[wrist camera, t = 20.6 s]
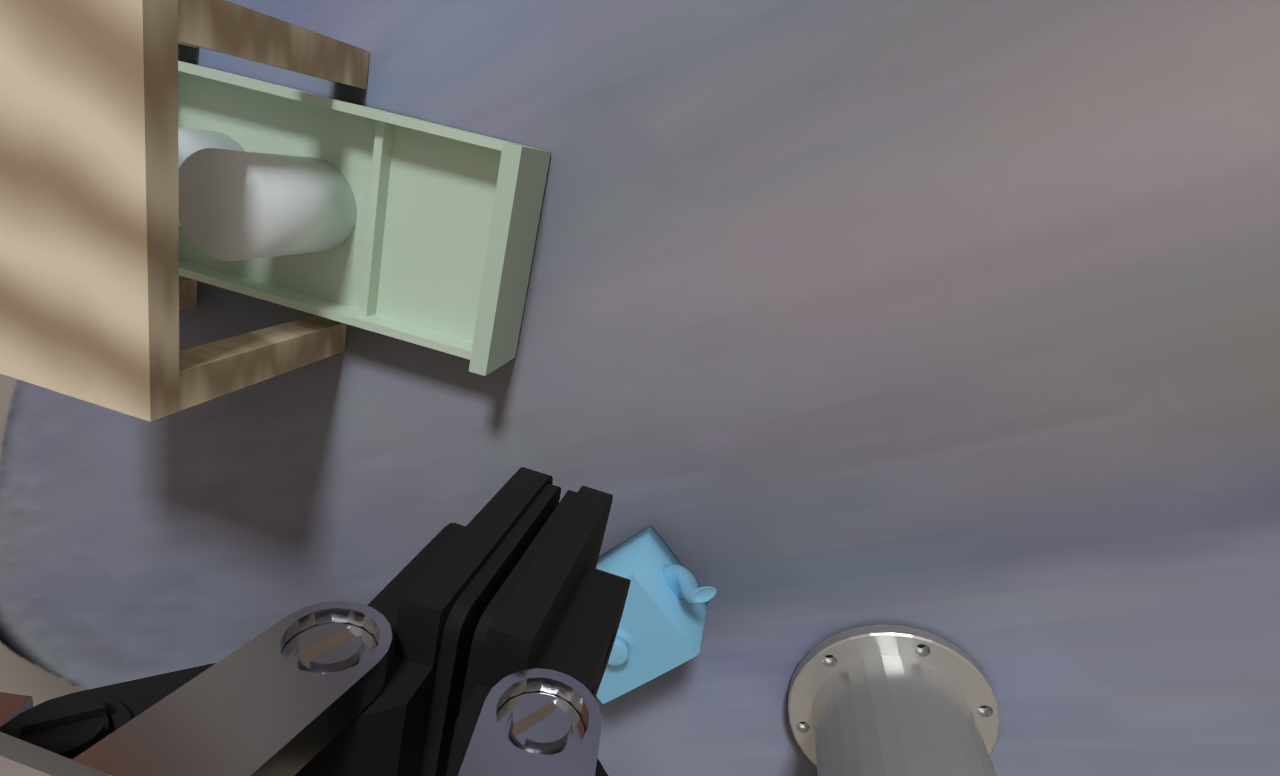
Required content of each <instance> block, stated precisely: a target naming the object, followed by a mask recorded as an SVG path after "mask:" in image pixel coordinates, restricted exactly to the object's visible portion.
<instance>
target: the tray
mask: <svg viewBox="0 0 1280 776" xmlns="http://www.w3.org/2000/svg"><path fill="white" fill-rule="evenodd" d="M178 127H182V128H190V129H199V130H208V131H215V132H220V133H223V134H225V135H227V136H229V137H231V138H232V139H234V140H235V141H236V142H237V143H238V144H239V145H240V146H241V147H242V148H243V149H244V151H249V152H260V153H270V154H281V155H291V156H302V157H312V158H318V159H322V160H324V161H327V162H328V163H330V164H332V165H333V166H334V167H336V168H337V169H338V170H339V171H340V172H341V173H342V174H343V175H344V177H345V178H346V180H347V181H348V183H349V185H350V187H351V189H352V191H353V194H354V198H355V202H356V220H355V225H354V228H353V231H352V233H351V235H350V236H349V237H348V239H347V240H346V241H345V242H344V243H343V244H342V245H340V246H339V247H337V248H335V249H332V250H328V251H321V252H312V253H303V254H294V255H284V256H275V257H266V258H257V259H248V260H239V261H225V260H220V259H217V258H214V257H212V256H210V255H208V254H207V253H205V252H204V251H202V250H201V249H200V248H198V247H197V246H196V245H195V244H194V243H193V241H192V240H191V239H190V238H189V237H188V235H187V234H186V232H185V231H184V229H183V227H182V226H179V276H183V277H186V278H190V279H193V280H197V281H200V282H204V283H207V284H210V285H214V286H217V287H221V288H224V289H228V290H231V291H235V292H238V293H241V294H245V295H248V296H252V297H255V298H259V299H262V300H266V301H269V302H272V303H276V304H279V305H283V306H286V307H290V308H293V309H297V310H300V311H304V312H307V313H310V314H314V315H317V316H321V317H324V318H328V319H331V320H335V321H338V322H341V323H345V324H348V325H352V326H355V327H359V328H362V329H366V330H369V331H372V332H376V333H379V334H383V335H386V336H390V337H393V338H397V339H400V340H403V341H407V342H410V343H414V344H417V345H421V346H424V347H428V348H431V349H434V350H438V351H441V352H445V353H448V354H452V355H455V356H459V357H462V358H465V359H469V360H470V365H469V372H473V373H476V374H479V375H483V376H486V375H488V374H490V373H491V372H493V371H494V370H496V369H498V368H499V367H501V366H502V365H504V364H506V363H507V362H509V361H510V360H512V359H514V358H515V356H516V350H517V345H518V339H519V333H520V327H521V322H522V316H523V310H524V304H525V299H526V293H527V287H528V281H529V276H530V270H531V264H532V258H533V253H534V247H535V241H536V235H537V230H538V224H539V218H540V212H541V207H542V201H543V195H544V189H545V184H546V178H547V172H548V166H549V161H550V155H551V152H549V151H545V150H541V149H537V148H533V147H529V146H525V145H521V144H516V143H512V142H508V141H504V140H500V139H496V138H492V137H488V136H484V135H480V134H476V133H472V132H468V131H464V130H460V129H455V128H451V127H447V126H443V125H439V124H435V123H431V122H427V121H423V120H419V119H415V118H411V117H407V116H403V115H399V114H395V113H390V112H386V111H382V110H378V109H374V108H370V107H366V106H362V105H358V104H354V103H350V102H346V101H342V100H338V99H334V98H329V97H325V96H321V95H317V94H313V93H309V92H305V91H301V90H297V89H293V88H289V87H285V86H281V85H277V84H273V83H269V82H264V81H260V80H256V79H252V78H248V77H244V76H240V75H236V74H232V73H228V72H224V71H220V70H216V69H212V68H208V67H203V66H199V65H195V64H191V63H187V62H183V61H179V60H178Z"/></svg>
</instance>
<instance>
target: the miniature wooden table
mask: <svg viewBox="0 0 1280 776" xmlns="http://www.w3.org/2000/svg"><path fill="white" fill-rule="evenodd" d="M178 44H181V45H185V46H189V47H193V48H197V49H199V47H202V48H206V49H209V50H213V51H217V52H221V53H225V54H229V55H233V56H237V57H240V58H244V59H248V60H252V61H256V62H260V63H264V64H268V65H271V66H275V67H279V68H283V69H287V70H291V71H295V72H298V73H302V74H306V75H310V76H314V77H318V78H322V79H326V80H329V81H333V82H337V83H341V84H345V85H350V86H354V87H358V88H362V89H366V90H367V78H368V66H369V54H370V52H369V51H366V50H363V49H361V48H358V47H355V46H352V45H349V44H347V43H344V42H341V41H338V40H335V39H332V38H330V37H327V36H324V35H321V34H318V33H316V32H313V31H310V30H307V29H304V28H302V27H299V26H296V25H293V24H290V23H287V22H285V21H282V20H279V19H276V18H273V17H271V16H268V15H265V14H262V13H259V12H257V11H254V10H251V9H248V8H245V7H242V6H240V5H237V4H234V3H231V2H228V1H226V0H0V373H1V374H4V375H7V376H10V377H13V378H16V379H19V380H22V381H25V382H29V383H32V384H35V385H38V386H41V387H44V388H47V389H50V390H53V391H56V392H60V393H63V394H66V395H69V396H72V397H75V398H78V399H81V400H84V401H87V402H91V403H94V404H97V405H100V406H103V407H106V408H109V409H112V410H115V411H119V412H122V413H125V414H128V415H131V416H134V417H137V418H140V419H143V420H146V421H150V422H151V421H154V420H157V419H160V418H162V417H165V416H168V415H171V414H173V413H176V412H179V411H182V410H184V409H187V408H190V407H193V406H195V405H198V404H201V403H204V402H206V401H209V400H212V399H215V398H217V397H220V396H223V395H226V394H228V393H231V392H234V391H237V390H240V389H242V388H245V387H248V386H251V385H253V384H256V383H259V382H262V381H264V380H267V379H270V378H273V377H275V376H278V375H281V374H284V373H286V372H289V371H292V370H295V369H297V368H300V367H303V366H306V365H308V364H311V363H314V362H317V361H319V360H322V359H325V358H328V357H330V356H333V355H336V354H339V353H341V352H344V351H345V341H346V329H347V324H345V323H341V322H338V321H335V320H331V319H328V318H324V317H321V316H317V315H313V316H310V317H306V318H302V319H298V320H294V321H290V322H287V323H283V324H279V325H275V326H271V327H268V328H264V329H260V330H256V331H252V332H248V333H245V334H241V335H237V336H233V337H229V338H225V339H222V340H218V341H214V342H210V343H206V344H202V345H199V346H195V347H191V348H187V349H183V350H179V311H183V310H188V309H193V308H197V280H193V279H190V278H186V277H183V276H179V179H178Z"/></svg>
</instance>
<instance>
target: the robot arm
mask: <svg viewBox="0 0 1280 776" xmlns="http://www.w3.org/2000/svg"><path fill="white" fill-rule="evenodd" d="M552 481H553V478H552V476H550V475H546V474H543V473H540V472H537V471H533V470H530V469H527V468H524V467H521V468H520V469H519V470H518V471H517V472H516V473H515V474H514V475H513V476H512V478H511V479H510V480H509V481H508V482H507V483H506V484H505V485H504V486H503V487H502V488H501V489H500V490H499V492H498V493H497V494H496V495H495V496H494V497H493V498H492V499H491V500H490V501H489V502H488V503H487V504H486V506H485V507H484V508H483V509H482V510H481V511H480V512H479V513H478V514H477V515H476V516H475V517H474V518H473V520H472V521H471V522H470V523H469V524H468V525H467V526H462V525H459V524H456V523H450V524H448V525H447V526H446V527H444V528H443V529H442V530H441V532H440V533H439V534H438V535H437V536H436V537H435V538H434V539H433V540H432V541H431V542H430V543H429V544H428V545H427V546H426V547H425V548H424V549H423V550H422V551H421V552H420V553H419V554H418V555H417V556H416V557H415V558H414V559H413V560H412V561H411V562H410V563H409V564H408V565H407V566H406V567H405V568H404V569H403V570H402V571H401V572H400V573H399V574H398V575H397V576H396V577H395V578H394V579H393V580H392V581H391V582H390V583H389V584H388V585H387V586H386V587H385V588H384V589H383V590H382V591H381V592H380V593H379V594H378V595H377V596H376V597H375V598H374V599H373V600H372V601H371V602H370V603H369V604H368V605H364V604H361V603H358V602H350V601H340V600H339V601H328V602H320V603H316V604H313V605H309V606H306V607H303V608H301V609H299V610H297V611H295V612H293V613H291V614H289V615H287V616H286V617H284V618H283V619H281V620H280V621H278V622H277V623H275V624H274V625H272V626H271V627H269V628H268V629H266V630H265V631H263V632H262V633H260V634H259V635H257V636H256V637H254V638H253V639H251V640H250V641H248V642H247V643H245V644H244V645H242V646H241V647H239V648H238V649H236V650H235V651H233V652H232V653H230V654H229V655H227V656H226V657H224V658H223V659H221V660H220V661H218V662H217V663H213V664H208V665H204V666H199V667H194V668H189V669H185V670H180V671H175V672H170V673H166V674H161V675H156V676H151V677H147V678H142V679H137V680H133V681H128V682H123V683H118V684H114V685H109V686H104V687H99V688H95V689H90V690H85V691H80V692H76V693H72V694H68V695H65V696H62V697H58V698H55V699H52V700H48V701H45V702H43V703H41V704H39V705H37V706H35V707H33V699H32V696H26V695H18V694H11V693H4V692H0V776H608V775H607V773H606V771H605V770H604V768H603V766H602V765H601V763H600V761H599V760H598V758H597V757H598V749H599V742H600V734H601V711H600V709H599V706H598V704H597V702H596V699H595V698H596V695H597V692H598V689H599V686H600V684H601V681H602V678H603V675H604V672H605V669H606V667H607V664H608V661H609V658H610V654H611V651H612V648H613V645H614V642H615V638H616V635H617V632H618V628H619V625H620V621H621V617H622V614H623V610H624V606H625V603H626V599H627V595H628V591H629V587H630V582H631V580H630V579H627V578H624V577H620V576H617V575H614V574H611V573H608V572H605V571H602V570H599V569H596V565H597V561H598V557H599V553H600V549H601V545H602V541H603V537H604V533H605V529H606V524H607V520H608V516H609V512H610V508H611V504H612V498H613V495H611V494H608V493H605V492H602V491H598V490H595V489H592V488H589V487H585V486H582V487H581V488H580V490H579V491H578V493H577V492H574V491H571V490H568V491H567V493H566V494H565V496H564V497H563V498H562V500H561V501H560V503H559V499H560V494H561V488H560V487H558V486H555V485H552ZM788 713H789V723H790V726H791V729H792V732H793V735H794V738H795V740H796V741H797V743H798V745H799V746H800V748H801V750H802V751H803V753H804V754H805V755H806V756H807V757H808V758H809V760H810V761H811V762H812V763H813V764H814V765H815V766H816V767H817V775H818V776H997V775H996V772H995V769H994V767H993V764H992V762H991V759H990V755H991V754H992V752H993V750H994V747H995V744H996V742H997V739H998V735H999V727H1000V716H999V708H998V703H997V701H996V698H995V696H994V693H993V691H992V688H991V686H990V684H989V682H988V680H987V678H986V676H985V675H984V673H983V671H982V670H981V669H980V668H979V666H978V665H977V664H976V663H975V662H974V660H973V659H972V658H971V657H970V656H968V655H967V654H966V653H965V652H964V651H962V650H961V649H960V648H959V647H957V646H956V645H954V644H953V643H951V642H949V641H947V640H945V639H944V638H942V637H940V636H938V635H935V634H932V633H929V632H927V631H924V630H921V629H917V628H912V627H907V626H902V625H885V624H877V625H868V626H860V627H856V628H852V629H849V630H846V631H842V632H839V633H837V634H835V635H833V636H831V637H829V638H827V639H825V640H823V641H822V642H821V643H819V644H818V645H817V646H816V647H814V648H813V649H812V650H810V651H809V652H808V654H807V655H806V656H805V657H804V658H803V659H802V661H801V662H800V663H799V665H798V667H797V668H796V670H795V672H794V674H793V676H792V679H791V683H790V687H789V691H788Z"/></svg>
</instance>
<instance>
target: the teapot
mask: <svg viewBox="0 0 1280 776" xmlns="http://www.w3.org/2000/svg"><path fill="white" fill-rule="evenodd" d="M596 569H599V570H602V571H605V572H608V573H611V574H614V575H617V576H620V577H624V578H627V579H630V580H631V582H630V587H629V591H628V595H627V599H626V603H625V606H624V610H623V614H622V617H621V621H620V625H619V628H618V632H617V635H616V638H615V642H614V645H613V648H612V651H611V654H610V658H609V661H608V664H607V667H606V669H605V672H604V675H603V678H602V681H601V684H600V686H599V689H598V692H597V695H596V697H597V698H598V699H599V700H600V701H601V703H602V704H605V703H607V702H609V701H611V700H613V699H615V698H617V697H619V696H621V695H623V694H625V693H627V692H629V691H631V690H633V689H635V688H637V687H639V686H641V685H643V684H644V683H646V682H648V681H650V680H652V679H654V678H656V677H658V676H660V675H662V674H664V673H666V672H668V671H669V670H671V669H673V668H675V667H677V666H679V665H681V664H683V663H685V662H686V661H688V660H690V659H692V658H694V657H695V656H697V655H699V653H700V647H701V641H702V635H703V629H704V623H705V617H706V610H707V604H708V601H709V600H710V599H712V598H713V597H714V596H715V594H716V589H715V588H714V587H708V586H707V587H699V585H698V583H697V581H696V579H695V578H694V576H693V575H692V574H691V572H690V571H689V570H688V569H686V568H685V567H684V566H683V565H682V564H681V562H680V561H679V560H678V559H677V557H676V556H675V555H674V554H673V552H672V551H671V550H670V548H669V547H668V546H667V545H666V543H665V542H664V541H663V540H662V538H661V537H660V536H659V534H658V533H657V532H656V531H655V529H654V528H653V527H652V526H651V525H650V526H649V527H647V528H645V529H644V530H642V531H640V532H639V533H637V534H635V535H634V536H632V537H631V538H629V539H627V540H626V541H624V542H622V543H621V544H619V545H618V546H616V547H614V548H613V549H611V550H609V551H608V552H606V553H605V554H603V555H601V556H600V557H598V561H597V565H596Z"/></svg>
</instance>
